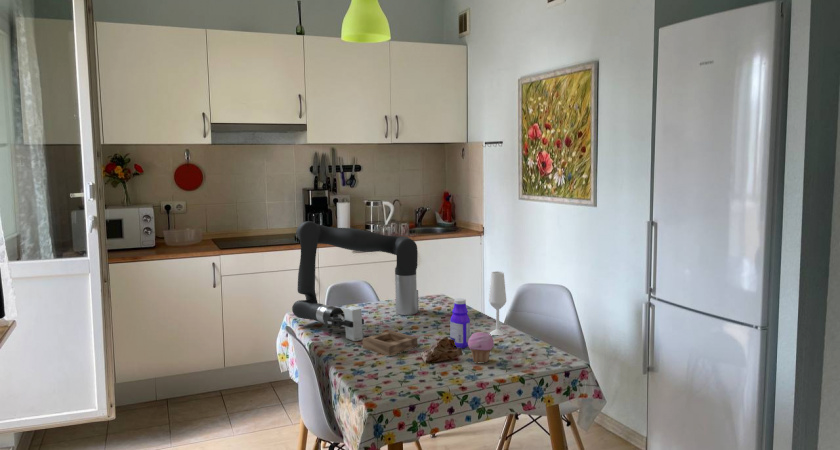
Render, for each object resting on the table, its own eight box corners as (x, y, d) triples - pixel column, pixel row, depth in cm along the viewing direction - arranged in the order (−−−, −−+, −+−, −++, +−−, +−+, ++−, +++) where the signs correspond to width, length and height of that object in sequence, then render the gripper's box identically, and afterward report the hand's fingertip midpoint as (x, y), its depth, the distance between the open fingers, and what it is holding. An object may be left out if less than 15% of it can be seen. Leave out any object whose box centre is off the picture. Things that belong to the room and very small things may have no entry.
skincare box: (363, 339, 242) (362, 308, 241) (353, 342, 239) (352, 310, 238) (354, 336, 247) (353, 305, 245) (344, 338, 244) (343, 307, 243)
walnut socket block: (391, 339, 242) (390, 330, 242) (417, 346, 232) (417, 337, 232) (362, 348, 232) (362, 338, 232) (389, 356, 222) (389, 346, 222)
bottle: (473, 346, 232) (472, 299, 230) (463, 350, 228) (462, 302, 226) (457, 342, 237) (457, 296, 235) (447, 345, 233) (447, 299, 231)
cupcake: (467, 357, 220) (467, 329, 219) (492, 357, 220) (492, 328, 219) (468, 366, 211) (468, 336, 210) (494, 366, 211) (494, 336, 210)
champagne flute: (486, 335, 245) (486, 273, 242) (492, 330, 251) (492, 270, 248) (502, 337, 242) (502, 275, 239) (508, 332, 248) (508, 271, 245)
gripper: (314, 309, 247) (342, 317, 235) (343, 302, 257) (372, 309, 245) (315, 328, 248) (343, 337, 236) (344, 320, 258) (372, 328, 246)
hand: (357, 323), depth 240 cm, fingers closed on skincare box, 4 cm apart
